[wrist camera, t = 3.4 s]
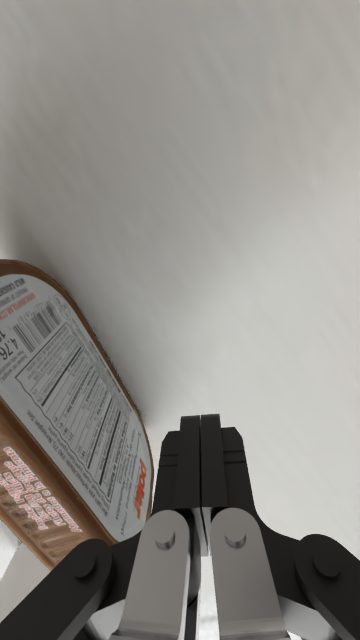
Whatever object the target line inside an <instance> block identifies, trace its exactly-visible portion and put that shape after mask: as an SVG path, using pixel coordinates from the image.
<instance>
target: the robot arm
mask: <svg viewBox="0 0 360 640" xmlns="http://www.w3.org/2000/svg"><path fill="white" fill-rule="evenodd" d="M208 544H209V550H210V555H211V556H212V565H213V575H214V585H215V595H216V604H217V614H218V624H219V635H220V640H291V638H290V636H289V634H288V633H287V631H289V632H291V633H294V634H296V635H298V636H300V637H301V639H302V640H360V561H359V560H358V559H357V558H356V557H355V556H354V555H352V554H351V553H350V552H349V551H348V550H347V549H346V548H344V547H343V546H342V545H341V544H340V543H338V542H337V541H335V540H334V539H332V538H330V537H328V536H325V535H321V534H311V535H307V536H305V537H304V538H302V539H301V540H300V541H299V540H296V539H293V538H290V537H287V536H284V535H281V534H279V533H277V532H275V531H273V530H271V529H270V528H269V527H267V526H266V525H265V524H264V523H263V521H262V520H261V519H260V517H259V516H258V514H257V512H256V509H255V506H254V501H253V495H252V490H251V484H250V478H249V473H248V467H247V462H246V456H245V451H244V445H243V440H242V437H241V435H240V434H239V432H238V431H237V430H236V428H235V427H227V428H221V424H220V416H219V414H208V415H201V419H200V415H196V416H182V417H181V423H180V431H169V432H168V434H167V435H166V437H165V438H164V440H163V442H162V446H161V453H160V460H159V468H158V474H157V481H156V487H155V494H154V501H153V508H152V513H151V516H150V518H149V519H148V521H147V522H146V523H145V525H144V527H143V529H142V530H141V531H140V532H138V533H137V534H136V535H134V536H133V537H131V538H129V539H126V540H124V541H121V542H119V543H116V544H114V545H111V546H108V544H107V543H106V542H105V541H103V540H101V539H98V538H92V539H88V540H85V541H83V542H81V543H80V544H78V545H77V546H76V547H75V548H73V549H72V550H71V551H70V552H69V553H68V554H67V555H66V556H65V558H64V559H63V560H62V561H61V562H60V563H59V564H58V565H57V566H56V567H55V568H54V569H53V570H52V571H51V572H50V573H49V574H48V575H47V576H46V577H45V578H44V579H43V580H42V581H41V582H40V583H39V584H38V585H37V586H36V587H35V588H34V589H33V590H32V591H31V592H30V593H29V594H28V595H27V596H26V597H25V598H24V599H23V600H22V601H21V602H20V603H19V604H18V605H17V606H16V607H15V608H14V609H13V610H12V611H11V612H10V613H9V614H8V615H7V616H6V617H5V618H4V619H3V620H2V621H1V622H0V640H198V635H199V616H200V596H201V556H208Z"/></svg>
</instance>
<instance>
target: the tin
mask: <svg viewBox="0 0 360 640" xmlns="http://www.w3.org/2000/svg"><path fill="white" fill-rule="evenodd" d="M153 481H154V466H153V459H152V454H151V449H150V445H149V441H148V437H147V434H146V431H145V428H144V425H143V422H142V420H141V417H140V415H139V413H138V411H137V409H136V407H135V406H134V404H133V402H132V400H131V399H130V397H129V395H128V393H127V392H126V390H125V388H124V386H123V385H122V383H121V381H120V379H119V378H118V376H117V374H116V372H115V370H114V369H113V367H112V365H111V363H110V362H109V360H108V358H107V357H106V355H105V353H104V351H103V350H102V348H101V346H100V344H99V343H98V341H97V339H96V337H95V336H94V334H93V332H92V331H91V329H90V327H89V326H88V324H87V322H86V320H85V319H84V317H83V315H82V314H81V312H80V310H79V309H78V307H77V306H76V304H75V303H74V301H73V300H72V299H71V297H70V296H69V295H68V294H67V293H66V291H65V290H64V289H63V288H62V287H61V286H60V285H59V284H58V283H57V282H56V281H55V280H54V279H52V278H51V277H50V276H48V275H47V274H46V273H44V272H43V271H41V270H39V269H38V268H36V267H34V266H32V265H30V264H27V263H25V262H21V261H17V260H7V259H0V519H1V520H2V521H3V522H4V523H5V524H6V525H7V526H8V527H9V529H10V530H11V531H12V532H13V533H14V534H15V535H16V536H17V537H18V538H19V539H20V540H21V541H22V542H23V543H24V544H25V545H26V546H27V547H28V549H29V550H30V551H31V552H32V553H33V554H34V555H35V556H36V557H37V558H38V559H39V560H40V561H41V562H42V563H43V564H44V565H45V566H46V567H47V568H48V569H49V570H50V571H52V570H53V569H54V568H55V567H56V566H57V565H58V564H59V563H60V562H61V561H62V560H63V559H64V558H65V556H66V555H67V554H68V553H69V552H70V551H71V550H72V549H73V548H75V547H76V546H77V545H78V544H80V543H81V542H83V541H85V540H88V539H92V538H98V539H101V540H103V541H105V542H106V543H107V544H108V546H111V545H114V544H116V543H119V542H121V541H124V540H126V539H129V538H131V537H133V536H134V535H136V534H137V533H138V532H140V531H141V530H142V529H143V527H144V525H145V523H146V522H147V521H148V519H149V518H150V516H151V508H152V491H153Z"/></svg>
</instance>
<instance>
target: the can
mask: <svg viewBox="0 0 360 640" xmlns="http://www.w3.org/2000/svg"><path fill="white" fill-rule="evenodd" d="M50 572H51V571H50V570H49V569H48V568H47V567H46V566H45V565H44V564H43V563H42V562H41V561H40V560H39V559H38V558H37V557H36V556H35V555H34V554H33V553H32V552H31V551H30V550H29V549H28V547H27V546H26V545H25V544H24V543H23V542H22V543H21V544H20V545H19V546H18V548H17V550H16V552H15V554H14V556H13V558H12V560H11V561H10V563H9V565H8V567H7V569H6V571H5V573H4V575H3V577H2V579H1V581H0V622H1V621H2V620H3V619H4V618H5V617H6V616H7V615H8V614H9V613H10V612H11V611H12V610H13V609H14V608H15V607H16V606H17V605H18V604H19V603H20V602H21V601H22V600H23V599H24V598H25V597H26V596H27V595H28V594H29V593H30V592H31V591H32V590H33V589H34V588H35V587H36V586H37V585H38V584H39V583H40V582H41V581H42V580H43V579H44V578H45V577H46V576H47V575H48V574H49V573H50Z"/></svg>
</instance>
